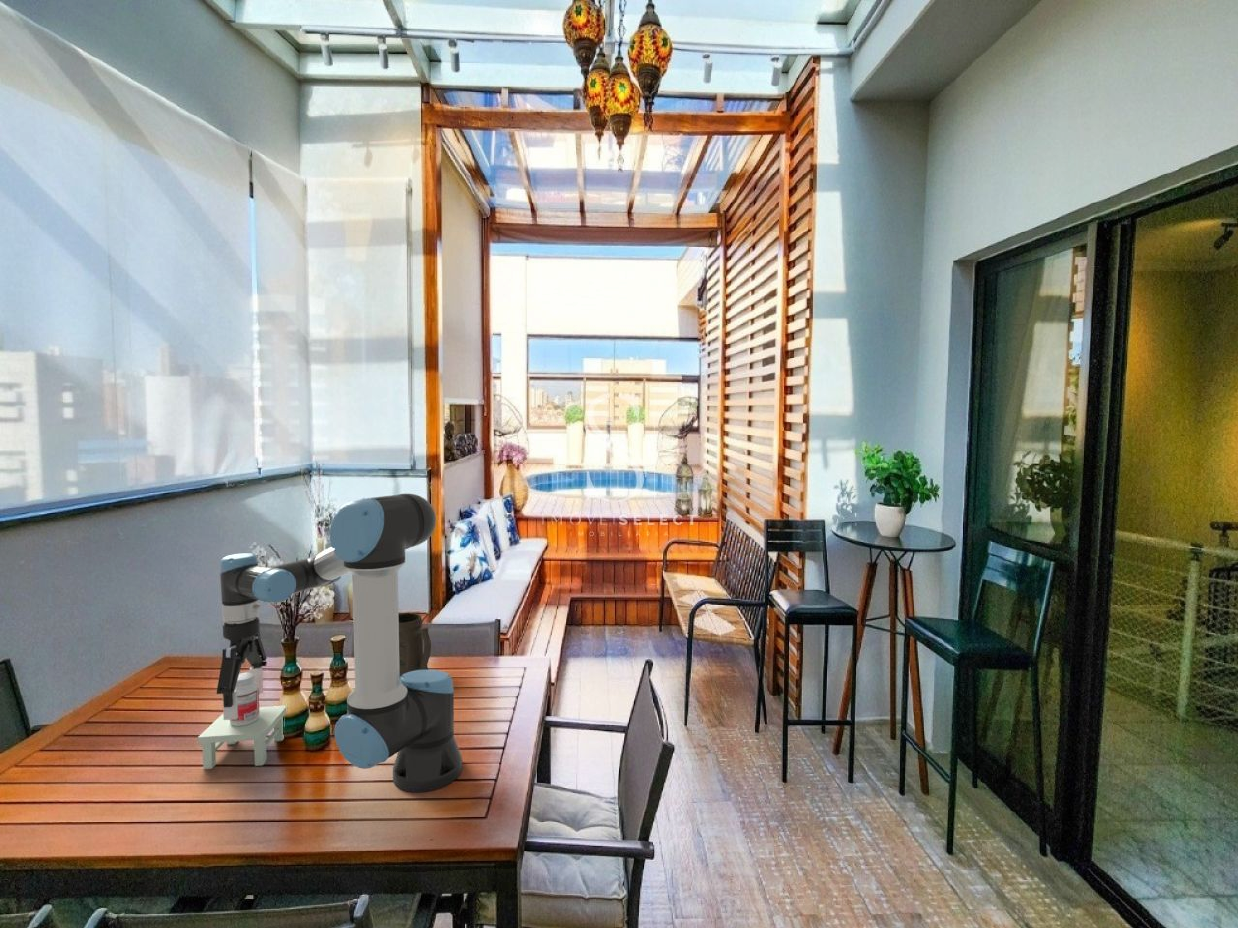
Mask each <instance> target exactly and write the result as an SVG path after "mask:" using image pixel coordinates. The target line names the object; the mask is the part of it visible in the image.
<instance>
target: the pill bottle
mask: <svg viewBox="0 0 1238 928" xmlns="http://www.w3.org/2000/svg"><path fill="white" fill-rule="evenodd" d="M254 680H255V675H254V673H251V672H250V671H247V672H239V676H238V679H237V683H236V687H235V690H237V706H238V718H237V719H234V720H230V724H231V725H233V726H244V725H248V724H251V723H253V722H255V721H256V720H257V719H258V718H259V715H260V713H259V707H260V694H259V687H258V684H257V683H256V682H254ZM235 690H234V691H235Z"/></svg>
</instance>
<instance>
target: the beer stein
mask: <svg viewBox="0 0 1238 928" xmlns="http://www.w3.org/2000/svg"><path fill="white" fill-rule="evenodd" d="M398 617H399V673H400V677H401V676H402V675H403V674H405V673H407V672H411V671H416V670H430V669H429V668H428V665H429V664H428V663H429V661H430V656H431V653H432V641H431V637H430V633H429V627H428V626H423V619H422V616H421V615H419V614H418V613H413V612H412V613H411V612H408V613H398Z"/></svg>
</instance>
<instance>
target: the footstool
mask: <svg viewBox="0 0 1238 928" xmlns="http://www.w3.org/2000/svg"><path fill="white" fill-rule="evenodd" d="M286 707H287V708H288V705H275V706H274V705H272V706H270V705H269V706H259V713H260V715H259V718H258V719H257V720H256V721H255V722H253V723H251V724H248V725H244V726H233V725H231V724H230V720H224V716H223V713H221V715H220V716H219V717H217V719H215V720H214V721H213V722H212V723H211V724H210V725H209V726H207V728H206V729H204V730H203V732H202V733H200V735H198V736H197V744H199V745H200V744H202V760H203V761H202V763H203V765H202V766H203V770H212V769H214V767H215V766H217V759H216V758H217V757H216V752H217V751H218V749H220V748H221V746H222V745H223V744H225V743H226V745H236V743H237V742H244V741H253V752H254V754H253V755H254V766H255V767H257V766H263V765H265V763H266V762H267V747H268V746H269V745H270V744H271V743H272V741H274V742H282V741H283V740H284V739H285V738H284V735H283V716H284V717H285V715H286V714H287V712H286ZM270 733H271V734H270ZM269 734H270V735H269ZM268 735H269V736H268ZM267 736H268V737H267ZM266 737H267V738H266Z"/></svg>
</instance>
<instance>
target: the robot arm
mask: <svg viewBox="0 0 1238 928" xmlns="http://www.w3.org/2000/svg"><path fill="white" fill-rule="evenodd" d="M436 524H437V516H436V512H435V510H434V507H433V506H432V504H431V503H430V502H429V501H428V499H426V498H424V497H422V496H421V495H419V494H414V493H399V494H393V495H384V496H383V495H382V496H376V497H375V496H373V497H366V498H365V497H363V498H361V499H357V500H352V501H349V502H347V503H345V504H343V505H342V506H341V507H339V509H338V510H337V511H336V512H335V513H334V515H333V518H332V520H331V523H330V526H329V543H330V547H327V548H326V549H323V550H322V551H320V552H319V553H317V554H315V555H313V556H310V557H308V558H304V559H299V560H295V561H291V562H285V563H280V564H277V565H272V566H264V565H263V566H261V565H259V561H258V556H256V554H255V553H249V552H245V553H234V554H229V555H226V556H224V557H222V559H221V560H220V572H219V576H220V593H221V595H220V597H221V620H222V621H223V622H222V637H223V639H225V640H228V641H230V643H229V647H225V648H223V649H222V652H221V653H222V659H221V666H220V670H219V676H218V683H217V688H216V695H222V711H223V712H222V714H223V716H224V720H234V719H237V718H238V706H237V690H235V687H236V683H237V679H238V676H239V674H240V673H241V672H240V671H241V667H242V665H243V664H244V663H245V661H246V660H247V662H248V663H249V665H250V666H251V667H249V671H248V672H251V673H254V675H255V680H254V682H256V683H257V684H258V687H259V695H261V694H263V693H264V685H263V684H264V681H263V679H264V678H263V677H264V676H263V667H267V664H268V663H267V661H266V660H267V654H266V652H265V648H264V644H263V642H262V639H261V629H260V628H261V625H260V623H261V621H260V617H258V616H259V615H260V608H261V604H260V603H259V601H261V602H264V603H268V604H271V603H274V604H278V603H283V602H285V601H287V600H288V599H289V598H291V597H292V595H295V594H298V593H301V592H304V591H309V590H312V589H316V588H320V587H325V586H329V585H332V584H333V583H337V582H339V580H340V579H341V578H342V576H345V575H346V574H348V573H350V574H351V575H352V614H353V615H352V616H353V617H352V618H353V654H354V655H353V657H354V658H353V660H354V661H353V662H354V689H353V690H352V692H350V694H348V696H347V699H346V703H347V704H346V708H347V713H346V714H343V715H341V717H340V718H338V721H336V723H335V726H334V739H335V743H336V746H337V748H338V750H339V752H340V754H341V755H342V756H343V757H344V759H345V760H346V761H347V762H348V763H349V764H351V765H352V766H353V767H356V768H358V769H362V770H366V769H367V770H368V769H371V768H373V767H375V766H378V765H379V764H381V763H384V762H386V761H387V760H388V759H389V758H390V757H392V756H395V754H397V755H396V757H395V760H394V764H393V767H392V782H393V783H394V785H395V786H396V787H397V788H399V789H401V790H403V791H406V792H413V793H421V792H422V793H423V792H429V791H434V790H437V789H441V788H444V787H446V786H447V785H450V784H451V783H453V782H454V781H455V780H457V778H459V776H460V775H461V773H462V771H463V756H462V755H461V754H462V753H461V751H460V748H459V746H458V743H457V741H456V738H455V721H454V720H455V717H454V716H455V711H454V710H455V709H454V707H455V706H454V705H455V702H454V701H455V700H454V698H455V696H454V695H455V694H454V693H455V690H454V683H453V682H454V680H453V678H452V676H451V675H450V673H447V672H446V671H443V670H438V669H429V670H416V671H411V672H407V673H405V674H403V675H402V676H401V677H400V673H399V617H398V614H399V570H400V569H401V568H402V566H404V564H406V550H408V549H410V548H414V547H416V546H419V545H421V544H423V543H425V542H426V541H428V539H429V538H431V536H432V535H433V533H434V532H435V529H436V526H437V525H436ZM234 690H235V691H234Z"/></svg>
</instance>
